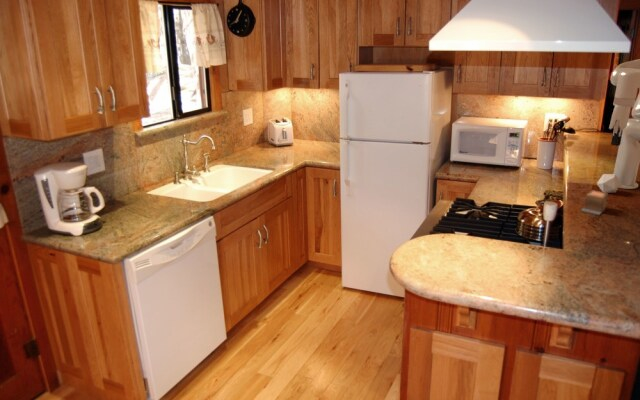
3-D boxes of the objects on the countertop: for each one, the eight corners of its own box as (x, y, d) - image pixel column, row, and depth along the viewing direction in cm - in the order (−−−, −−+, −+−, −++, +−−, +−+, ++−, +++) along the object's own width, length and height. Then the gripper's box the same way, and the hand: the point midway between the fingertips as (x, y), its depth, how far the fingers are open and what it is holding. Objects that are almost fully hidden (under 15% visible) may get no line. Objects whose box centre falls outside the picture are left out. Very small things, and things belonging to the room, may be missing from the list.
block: (592, 190, 216) (586, 194, 210) (607, 193, 212) (602, 198, 207) (589, 203, 218) (584, 208, 212) (605, 206, 214) (599, 211, 209)
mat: (587, 204, 218) (587, 203, 217) (605, 208, 213) (605, 207, 213) (580, 211, 211) (580, 210, 210) (599, 215, 206) (599, 214, 206)
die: (617, 197, 228) (628, 178, 228) (600, 187, 228) (611, 168, 228) (606, 198, 236) (617, 179, 236) (590, 188, 236) (601, 169, 236)
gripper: (618, 98, 216) (610, 140, 223) (609, 103, 206) (600, 147, 213) (638, 100, 212) (629, 143, 218) (630, 105, 201) (620, 150, 208)
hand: (615, 145), depth 215 cm, fingers closed
